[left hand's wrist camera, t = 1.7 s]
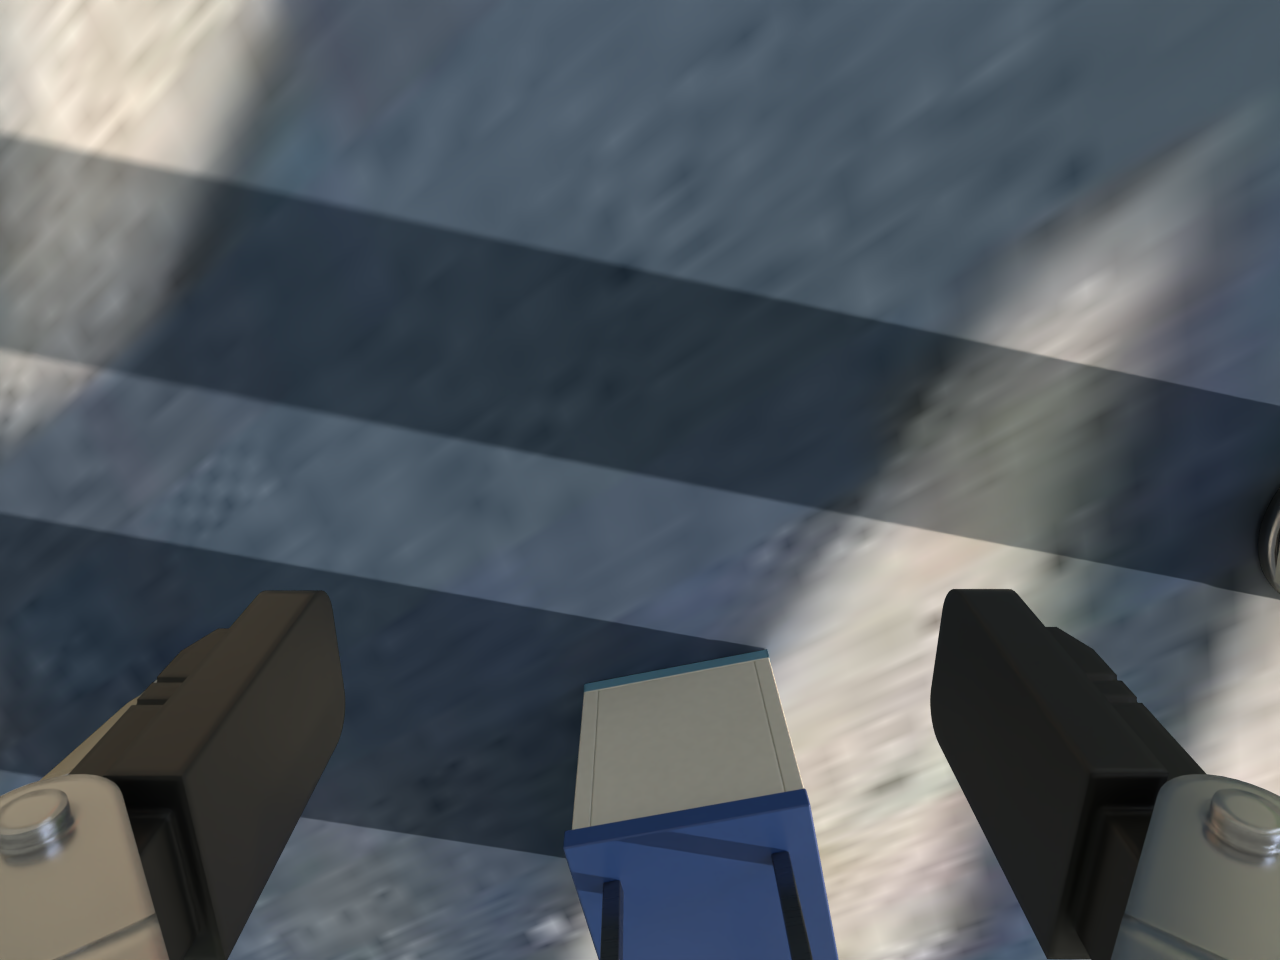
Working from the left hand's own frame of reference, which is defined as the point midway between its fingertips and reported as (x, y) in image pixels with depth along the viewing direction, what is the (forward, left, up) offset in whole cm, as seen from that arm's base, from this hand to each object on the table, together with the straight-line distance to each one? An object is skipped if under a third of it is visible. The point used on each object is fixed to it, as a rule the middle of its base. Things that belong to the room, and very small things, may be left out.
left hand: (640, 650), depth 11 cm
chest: (-17, +19, -28) cm, 38 cm away
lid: (-17, +18, -17) cm, 30 cm away
